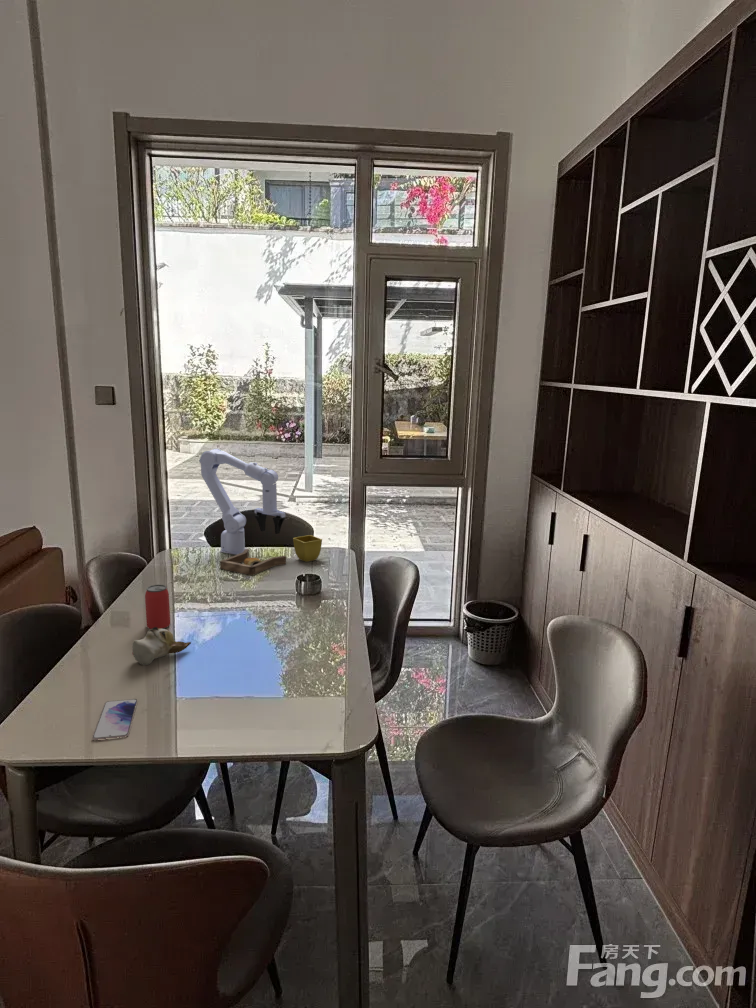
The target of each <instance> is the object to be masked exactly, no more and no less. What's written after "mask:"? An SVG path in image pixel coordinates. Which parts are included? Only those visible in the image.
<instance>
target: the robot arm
mask: <svg viewBox="0 0 756 1008" xmlns="http://www.w3.org/2000/svg"><path fill="white" fill-rule="evenodd" d="M198 462H199V463H200V472H201V473H200V474H201V477H202V479H203V481H204V482H205V485H206V486H207V489H208V490H209V492H210V493H211V496H212V497H213V498H214V501H215V502H216V504H217V506H218V507H219V509H220V511H221V513H222V514H221V515H222V516H221V519H222V521H223V528H224V529H225V530H223V531H222V532H221V533H220V550H219V552H220V553H225V554H231V555H234V556H235V555H237V554H240V553H243V551H244V550H245V549H246V547H245V546H246V542H245V528H244V527H245V526H246V524H247V518H246V516H245V515H244V514H242V513H241V511H240V510H239V509H238V508H237V507H235V505H234V504H233V502H232V500H231V498H230V497H229V495H228V493H227V491H226V490H225V487H224V486H223V485H222V482H221V480H220V479H219V476H218V475H217V471H218V469H219V466H220V465H223V464H226V465H230V466H232V467H234V468H236V469H239V470H241V471H243V472H244V475H246V476H247V477H250V478H252V479H253V480H256V481H258V482H260V484H261V485H262V487H261V488H262V490H261V491H262V508H260V507H256V508H254V514H255V515H254V518H255V520H256V521H257V523H258V525H259V526H258V527H259V530H260V532H265V531H266V521H267V516H273V517H272V521H273V524H274V533H275V535H278V534H280V532H281V529H282V525H283V523H284V521H285V519H286V511H282V510H278V503H277V502H278V497H277V496H278V493H277V491H278V489H277V482H278V481H279V474H278V473H277V471H275V470H274V469H268V468H267V467H263V466H261V465H259V464H258V462H255V461H252V462H251V461H250V462H245V461H244V460H242V459H240V458H237V457H236V456H234V455H232V454H230V453H229V452H227V451H226V450H221V448H213V449H210V450H205V451H204V452H202V453H201V455H200V458H199V460H198Z"/></svg>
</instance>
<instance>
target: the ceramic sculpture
mask: <svg viewBox="0 0 756 1008" xmlns="http://www.w3.org/2000/svg"><path fill="white" fill-rule="evenodd" d="M191 643H192V641H187V642H184V641H182V640H181V641H175V639H174V634H173V633H172V632H171V631H170V630H168V629H166V628H164V629H162V628H159V629H158V628H157V627H154V628H152V629H149V630H147V631H146V635H145V636H144V637H143V638H142V639H135V640H133V641H132V655H133V658H134V659H135V661H136V662H138V663H139V664H140V665H146V666H147V665H150V664H152V662H153V661H154V659H157V658H158V659H159V658H162V657H165V656H168V655H169V654H177V653H181V652H182V651H184V650H185V649H187V648H188V647H189V646H190V645H191Z"/></svg>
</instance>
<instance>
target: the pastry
mask: <svg viewBox="0 0 756 1008" xmlns="http://www.w3.org/2000/svg"><path fill="white" fill-rule="evenodd" d="M260 562H262V560H261V559H260V558H258V557H257V558H256V557H248V558H246V559H245V560H244V561H243V564H245V565H250V566H253V565H255V564H258V563H260Z"/></svg>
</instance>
